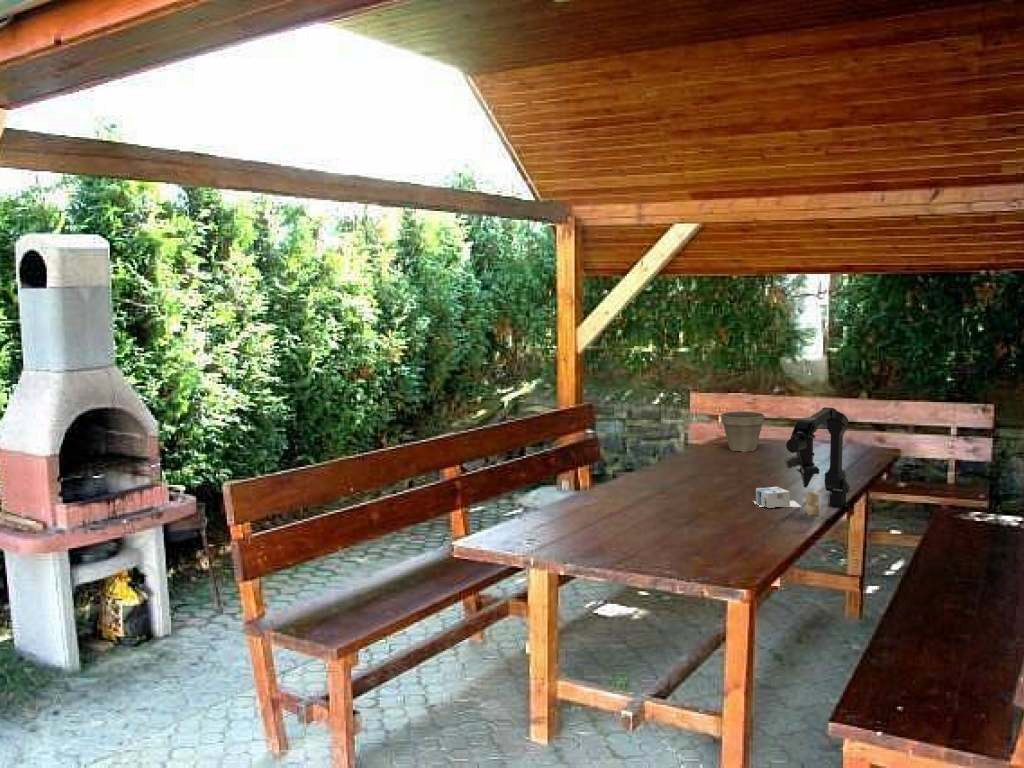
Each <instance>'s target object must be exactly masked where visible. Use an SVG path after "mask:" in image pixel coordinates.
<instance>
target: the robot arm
mask: <svg viewBox="0 0 1024 768" xmlns="http://www.w3.org/2000/svg"><path fill="white" fill-rule="evenodd" d="M824 423H826V429H827V431H828V433H829V434H830V449H829V469H827V471H826V472H825V473H824V485H825V487H824V488H825V492H828V494H827V504H828V505H829V506H830V507H832V508H840V507H841V508H843V507H844V508H847V507H848V505H847V494H849V493H850V491H851V486H850V484H849V482H848V481H847V476H846V475H847V474H846V473H845V471H844V470H843V449H844V448H843V444H844V443H843V442H844V435H845V433H846V432H847V430H848V424H849V418H848V417H847V416H846V414H844V413H843V412H840V411H838V410H837V408H834V407H827V406H826V407H822V408H821V409H820V410H819V411H817V412H816V413H814V414H812V415H811V416H808V417H802V418H799V419H798V420H796V422H795V425H794V428H793V430H792V432H791V436H790V438H789V439H788V440H787V442H786V444H785V446H786V450H787V451H788V452H789V453H792V454H795V453H796V454H795V455H792V456H790V457H787V458H785V459H783V463H784V465H785V467H786V468H787V469H791V468H796V467H797V469H796V471H797V472H798V473H799V474H800V477H801V482H802V485H803V488H808V486H809V485H810V483H811V481H812V478H813V476H814V475H820V468H819V467H817V466H816V465H815V462H814V456H815V452H814V439H816V435H815V434H814V433H816V432H817V431H818V427H819V426H820V425H822V424H824Z"/></svg>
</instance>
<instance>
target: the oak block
mask: <svg viewBox="0 0 1024 768" xmlns="http://www.w3.org/2000/svg"><path fill="white" fill-rule="evenodd" d="M805 497H806V500H805V501H806V502H805V503H806V504H805V507H806V509H805V511H806V512H805V514H806V513H807V514H806V515H808V516H809V515H819V516H820V494H819V493H818V492H816V491H813V492H812V491H809V492H807V491H806V495H805Z"/></svg>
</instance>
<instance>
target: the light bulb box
mask: <svg viewBox="0 0 1024 768" xmlns="http://www.w3.org/2000/svg"><path fill="white" fill-rule="evenodd" d="M755 501H756V503H758V504H760V505H763V506H765V507H767V508H766V509H771V508H772V509H776V508H775V507H784V506H790V501H791V492H790V491H789V490H787V489H784V488H781V487H779V486H772V487H771V486H770V487H756V488H755Z"/></svg>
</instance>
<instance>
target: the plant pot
mask: <svg viewBox="0 0 1024 768" xmlns="http://www.w3.org/2000/svg"><path fill="white" fill-rule="evenodd" d="M720 417H721V418H720V420H721V421H720V422H721V424H722V425H723V428H724V432H725V436H726V440H727V443H728V447H729V450H730V451H731V450H732V451H731V452H734V451H741V452H740V453H748V452H747V451H753V452H755V451H756V449H757V447H758V442H759V438H760V434H761V432H762V426H763V424H765V414H764V413H762V412H756V411H729V412H723V413H721V414H720ZM754 450H755V451H754Z"/></svg>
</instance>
